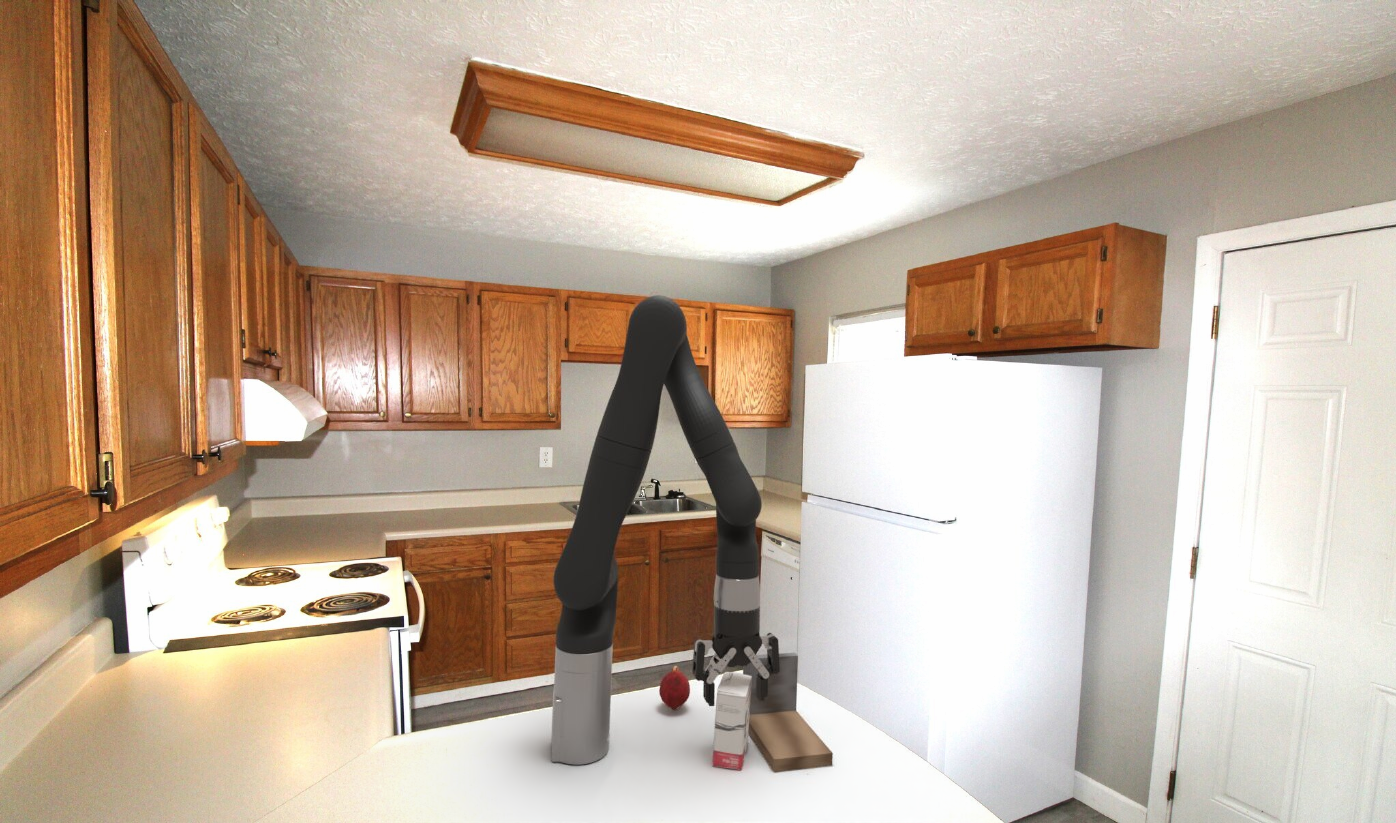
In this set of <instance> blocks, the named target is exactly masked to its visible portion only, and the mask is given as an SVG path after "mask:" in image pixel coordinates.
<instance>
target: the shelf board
mask: <svg viewBox="0 0 1396 823" xmlns="http://www.w3.org/2000/svg"><path fill="white" fill-rule="evenodd" d="M756 656H757V657H758V659H759V660H760V661H761V663H762V664H763V666H764V665H766V664H768V662H767V653H766V654H756ZM798 663H799V655H798V654H797V653H796V652H784V653H779V666H780V671H779V673H777V674H772V675H770V676H769V677H768V695H767V697H765V700H764V701H759V700H758V698H757V696H756V674H758V671H757V669H756V668H755V667H754V665H753V664H752V663H751V662H750V663H749V664H747V666H742V667H743V668H742V674H745V675H750V676H752V681H751V698H750V715H749V732H748V736H749V737H750V738H751V740H752V742H753V743H754V744H755V746H756V747H757V749H758V750H759V751H760V753H761V754H762V757H763V758H764V760H765V762H766V763H767V764H768V766H769V767H770V768H771V770H772V771H773V772H772V773H779V772H790V771H797V770H804V769H805V770H806V769H812V768H813V769H814V768H823V767H831V766H833V760H834V758H833V755H834V754H833V751H832V750H831V749H830V748H829V747H828V746H827V744H826V743H825V742H824V741H823V740H822V739H821V737H820V736H819V735H818V734H817V733H816V731H815V730H814V729H813V728H812V727H811V726H810V725H809V723H808V722H806V720H805V719H804V717H802V716H801V714H800V713H799V712H798V711H797V700H798V698H797V697H798V671H799V670H798V668H799V667H798Z"/></svg>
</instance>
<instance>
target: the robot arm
mask: <svg viewBox="0 0 1396 823" xmlns="http://www.w3.org/2000/svg"><path fill="white" fill-rule="evenodd" d="M626 332H627V333H626V338H625V343H624V348H623V353H622V359H621V364H620V368H619V371H618V374H617V375H618V376H617V379H616V382H615V384H614V387H613V389H612V392H611V394H610V396H609V399H608V402H607V405H606V407H605V410H604V413H603V416H602V418H601V421H600V425H599V428H598V429H597V434H596V436H595V439H594V440H595V441H594V443H593V446H592V450H591V453H590V456H589V461H588V466H587V470H586V473H585V478H584V481H583V485H582V490H581V493H580V494H581V495H580V498H579V504H578V508H577V512H576V516H575V518H574V521H573V524H572V527H571V530H570V532H569V534H568V538H567V540H566V542H565V544H564V545H565V546H564V547H563V550H562V552H561V554H560V557H559V559H558V560H557V561H558V562H557V564H556V567H555V568H554V572H553V582H552V583H553V588H554V591H555V594H556V596H557V599H558V600H559V601H560V602H561V604H562V607H561V613H560V617H559V620H558V623H557V626H556V632H555V652H554V653H555V655H554V656H555V657H554V675H553V676H554V678H553V679H554V681H553V687H552V689H553V690H552V691H553V692H552V714H551V715H552V716H551V739H550V740H551V742H550V744H551V746H550V747H551V748H550V750H551V762H553V763H555V762H559V763H564V764H566V765H567V764H568V765H586V764H592V763H595V762H597V761H599V760H602V758H604V757H605V756H606V755H607V754H608V752H609V749H610V736H611V733H610V730H611V729H610V725H611V724H610V723H611V703H612V702H611V700H612V699H611V698H612V677H613V676H612V672H613V671H612V669H613V647H614V646H613V644H614V643H613V642H614V632H615V625H616V621H617V606H618V592H619V591H618V588H619V568H618V566H619V565H618V562H617V559H616V556H615V555H614V554H615V550H616V545H617V542H618V538H619V535H620V534H619V533H620V531H621V528H622V525H623V524H624V521H625V519H626V516H627V515H628V512H629V510H630V509H631V507H632V504H633V502H634V500H635V498H636V496H637V495H638V494H637V493H638V491H639V489H640V487H641V484H642V482H643V479H644V477H645V473H646V471H647V468H648V464H649V462H650V457H651V454H652V450H653V447H654V444H655V443H654V442H655V439H656V434H657V428H658V421H659V414H660V406H661V398H662V393H663V389H664V386H665V389H666V391H667V393H668V396H669V397H670V400H671V403H672V405H673V409H674V411H675V414H676V417H677V420H678V422H679V425H680V426H681V429H682V432H683V435H684V437H685V440H686V442H687V444H688V447H689V448H690V451H691V453H692V455H693V457H694V459H695V461H696V464H697V465H698V468H699V469H700V470H701V472H702V474H703V475H704V476H705V479H706V481H707V484H708V486H709V489H710V491H711V492H710V493H711V494H712V497H713V499H714V501H715V515H716V516H715V518H716V534H717V546H716V554H715V557H716V558H715V565H716V566H715V582H714V589H713V590H714V591H713V592H714V593H713V636H712V639H709V640H704V639H703V640H702V639H701V638H700V637H697V638H695V639H694V641H693V642H694V644H693V655H692V656H693V657H692V670H691V672H692V675H693V676H694V678H695V680H696V681H697V682H700V681H701V682H703V683H702V684H703V689H702V691H703V698H704V701H705V703H706V704H708V706H709V707H714V706H715V696H716V695H715V693H716V692H715V691H716V690H715V688H716V686H715V680H716V678H717V677H718V676H719V674H722V673H723V671H724V670H725V668H726V667H729V668H736V667H737V666H740V667H743V666H747V664H749V663H750V662H751V663H752V664H753V665H754V667H755V668H756V669H757V671H758V674H756V696H757V698H758V700H759V701H764V700H765V697H767V695H768V677H769V676H770V675H772V674H777V673H779V671H780V666H779V654H780V648H779V646H780V645H779V639H778V637H776V635H775V634H773V633H772V632H768V633H767V634H766V635H760V628H761V626H760V624H761V623H760V621H761V585H760V584H761V583H760V576H759V575H760V574H759V573H760V572H759V571H760V554H759V552H760V551H759V544H758V540H757V536H756V534H757V532H756V529H757V519H758V518H759V516H760V514H761V512H762V503H763V502H762V498H761V495H760V492H759V489H758V488H757V486H756V484H755V482H754V480H753V478H752V476H751V473H749V471H748V469H747V467H746V466H745V464H744V462H743V461H742V459H741V456H740V453H739V450H738V447H737V445H736V443H735V440H734V438H733V435H732V434H731V432H730V430H729V427H728V425H727V423H726V421H725V419H724V417H723V415H722V413H721V411H720V408H719V406H718V405H717V404H716V402H715V400H714V399H713V398H714V397H713V396H712V394H711V393H710V392H709V389H708V388H707V385H706V384H705V382H704V380H703V378H702V376H701V373H700V371H699V369H698V366H697V363H696V361H695V359H694V355H693V352H692V348H691V344H690V341H689V337H688V326H687V318H686V316H685V314H684V311H683V309H682V308H681V306H680V305H679V304H678V303H677V302H676V301H675V300H674V299H671V298H670V297H667V296H665V295H651V296H648V297H646V298H644V299H643V300H641V301H640V302H639V303H638V304H637V305H636V306H635V307H634V308H633V310H632V312H631V314H630V316H629V320H628V326H627V331H626ZM762 646H763V647H764V648H765V649H766V654H767V662H768V664H766V665H764V666H763V664H762V663H761V661H760V660H759V659H758V657H757V656H756V655H757V653H758V651H759V650H760V649H761V647H762ZM710 649H712V650H713V651H714V655H712V657H711V659H710V660H709V664H708V665H707V667H706V668H705V656H707V655H708V653H709V651H710Z"/></svg>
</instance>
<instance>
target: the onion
mask: <svg viewBox="0 0 1396 823" xmlns="http://www.w3.org/2000/svg"><path fill="white" fill-rule="evenodd" d="M660 681H661V682H660V685H659V690H658V691H659V692H658V693H659V697H660V700H661V702H662V703H663V704H664V705H665V706H666V707H668V708H670V709H671V710H673V711H675V710H677V709H679V708H681V706H683V705H684V704H685V703H686V702H687V701H688V699H689V698H690V694H691V685H690V682H689V679H688V678H687V676H686V675H685V674H684V673H683V672H681V671H680V667H678V666H677V665H675V666H673V667H672V670H671V671H670V672H668V673H667V674H666V675H664V676H663V678H662V679H661V680H660Z"/></svg>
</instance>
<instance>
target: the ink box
mask: <svg viewBox="0 0 1396 823" xmlns="http://www.w3.org/2000/svg"><path fill="white" fill-rule="evenodd" d="M751 681H752V676H750V675H745V674H743V673H741V672H733V671H725V672H723V675H722V676H721V680H720V682H719V684H718V686H717V689H716V690H717V692H716V704H715V718H714V732H713V735H714V736H713V749H712V763H711V764H712V767H719V768H725V769H730V770H731V769H732V770H740V771H741V770H743V765H744V761H745V757H746V752H747V749H748V744H749V733H748V732H749V715H750V698H751Z"/></svg>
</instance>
